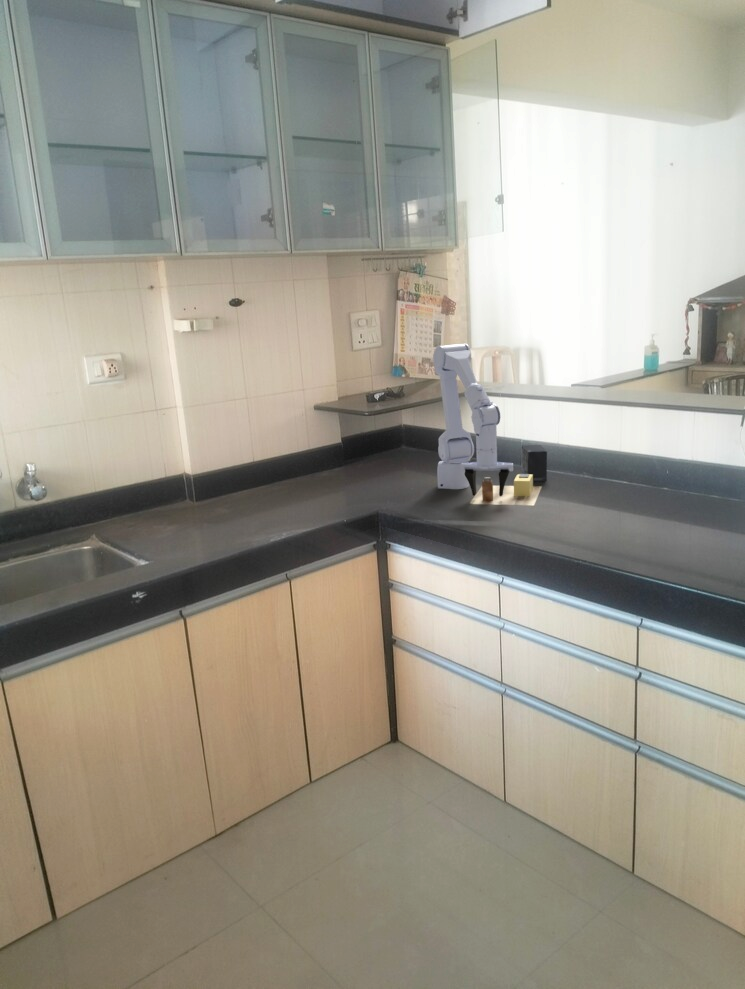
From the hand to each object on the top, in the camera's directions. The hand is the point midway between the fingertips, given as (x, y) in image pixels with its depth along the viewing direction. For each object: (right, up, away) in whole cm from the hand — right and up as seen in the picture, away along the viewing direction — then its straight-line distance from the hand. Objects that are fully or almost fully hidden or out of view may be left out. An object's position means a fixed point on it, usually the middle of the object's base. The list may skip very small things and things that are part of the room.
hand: (487, 495), depth 215 cm
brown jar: (0, -1, 0) cm, 1 cm away
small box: (+18, +4, +23) cm, 30 cm away
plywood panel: (+6, -1, +5) cm, 8 cm away
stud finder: (+11, +1, +6) cm, 13 cm away
